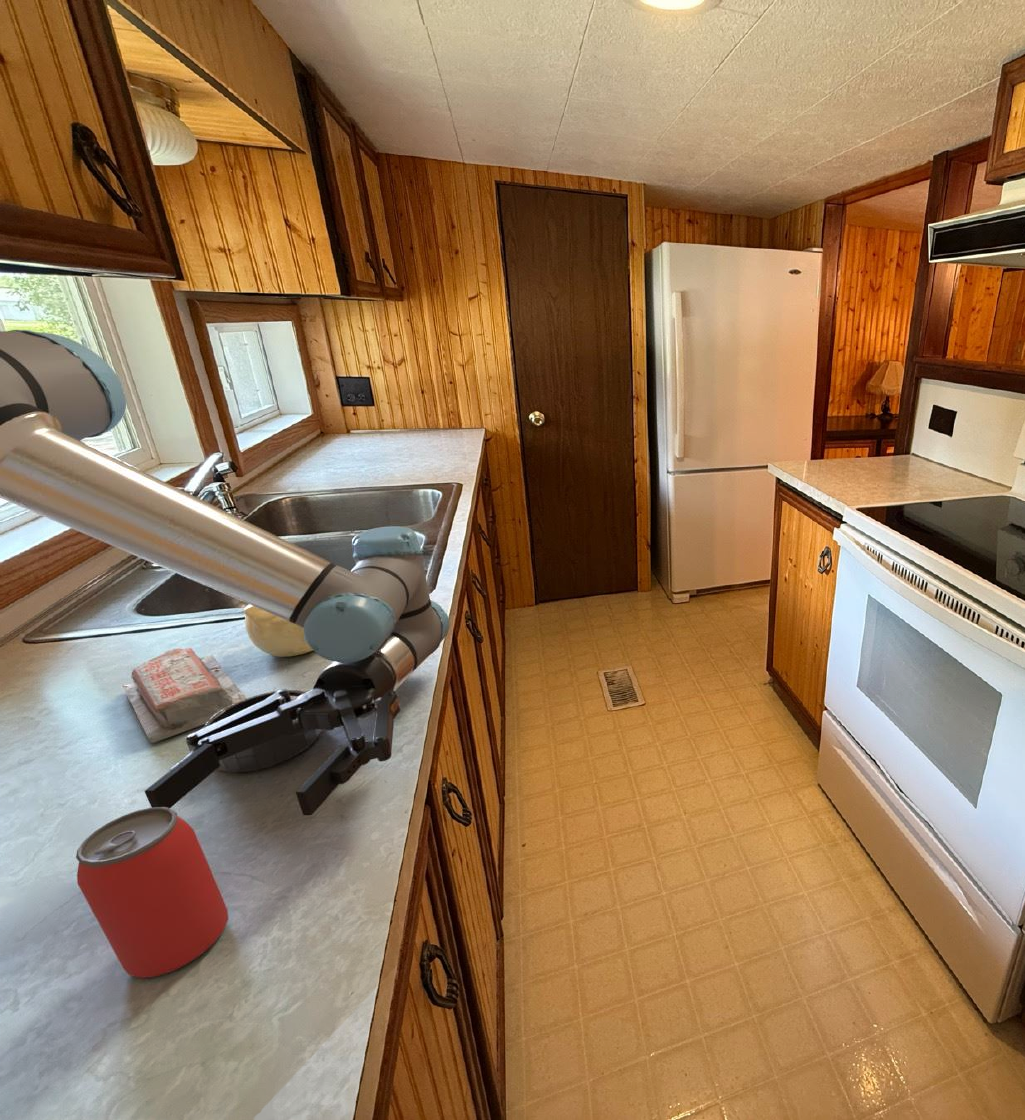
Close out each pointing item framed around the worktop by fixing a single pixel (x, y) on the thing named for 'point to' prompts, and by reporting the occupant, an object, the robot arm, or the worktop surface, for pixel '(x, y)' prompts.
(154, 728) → the packaged product
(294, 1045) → the worktop surface
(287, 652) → the sculpture
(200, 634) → the worktop surface
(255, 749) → the bowl
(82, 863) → the beer can
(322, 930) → the worktop surface
